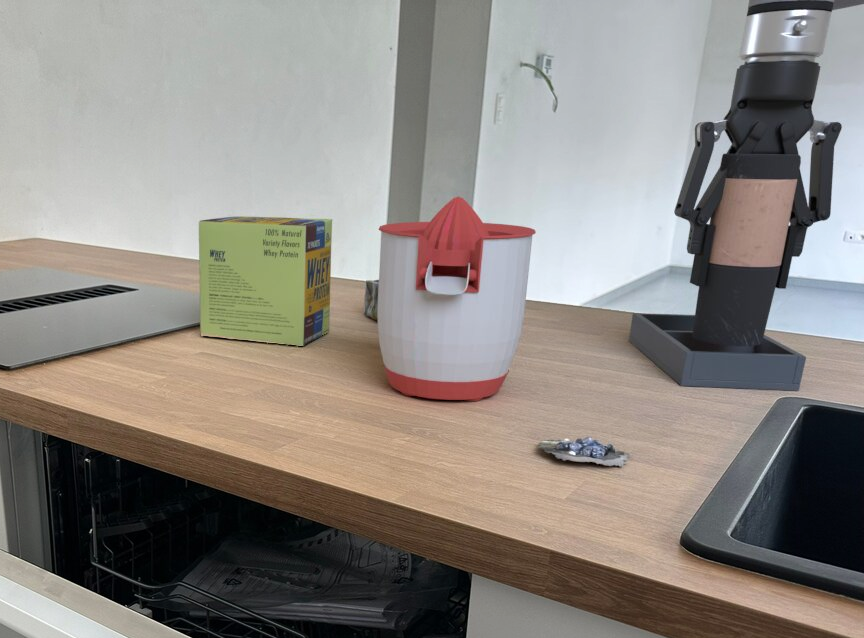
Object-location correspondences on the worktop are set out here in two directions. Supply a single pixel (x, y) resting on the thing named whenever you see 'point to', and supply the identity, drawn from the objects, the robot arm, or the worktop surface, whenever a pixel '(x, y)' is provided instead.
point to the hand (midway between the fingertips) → (736, 285)
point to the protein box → (265, 278)
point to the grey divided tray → (714, 356)
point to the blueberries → (585, 451)
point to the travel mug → (746, 248)
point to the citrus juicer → (451, 303)
